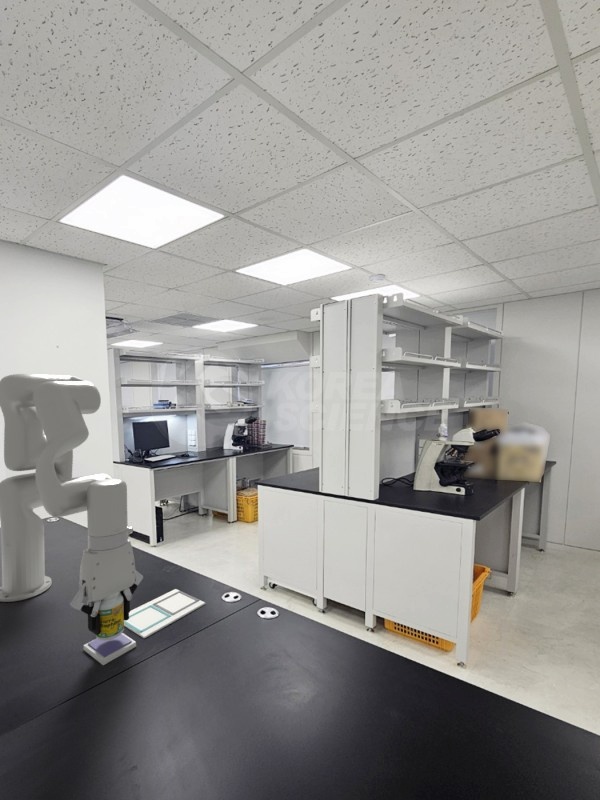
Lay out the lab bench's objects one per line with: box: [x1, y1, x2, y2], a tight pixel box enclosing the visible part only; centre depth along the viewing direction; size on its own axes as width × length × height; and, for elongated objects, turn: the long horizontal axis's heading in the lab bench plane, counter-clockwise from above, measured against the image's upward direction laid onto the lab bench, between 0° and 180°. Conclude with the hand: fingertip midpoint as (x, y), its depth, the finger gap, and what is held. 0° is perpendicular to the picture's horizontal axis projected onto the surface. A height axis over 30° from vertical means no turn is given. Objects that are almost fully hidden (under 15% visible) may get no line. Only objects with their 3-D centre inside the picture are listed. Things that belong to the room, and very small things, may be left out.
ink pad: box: [83, 632, 137, 666], centre depth 82 cm, size 8×7×1 cm
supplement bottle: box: [95, 592, 125, 641], centre depth 82 cm, size 5×5×10 cm
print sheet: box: [124, 588, 206, 639], centre depth 95 cm, size 12×17×1 cm
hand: (109, 624), depth 82 cm, fingers closed on supplement bottle, 5 cm apart
